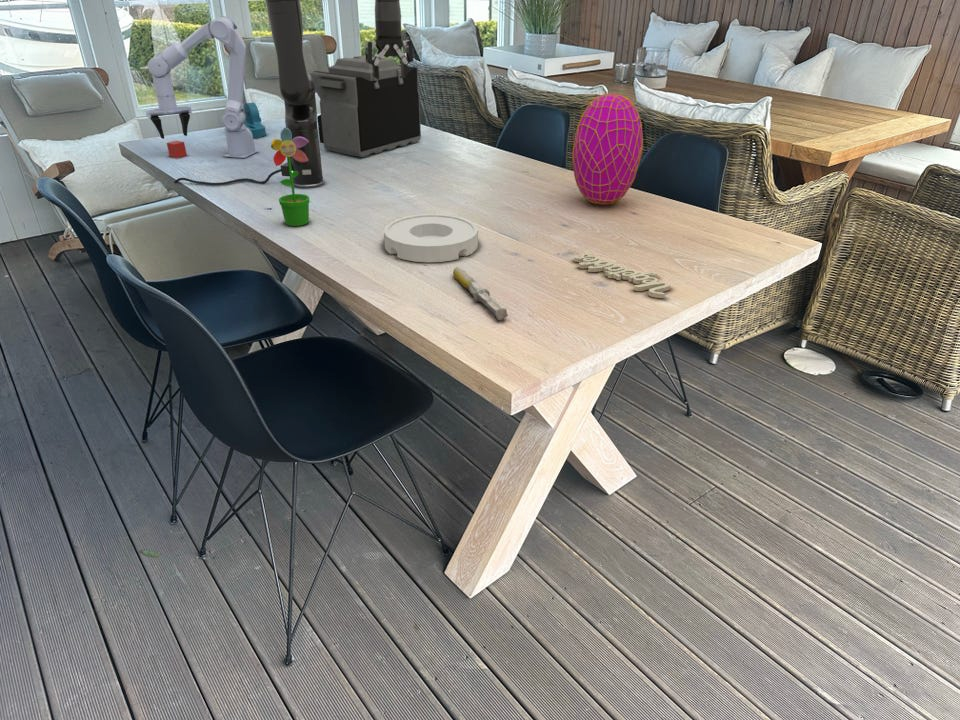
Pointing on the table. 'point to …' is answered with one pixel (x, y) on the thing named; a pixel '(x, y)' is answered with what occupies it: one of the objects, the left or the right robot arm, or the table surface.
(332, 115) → the cooler box
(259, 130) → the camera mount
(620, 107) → the decorative egg
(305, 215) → the potted flower
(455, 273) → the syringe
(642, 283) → the decorative sign
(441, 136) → the table surface
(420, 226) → the ashtray
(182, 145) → the block
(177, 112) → the left robot arm
